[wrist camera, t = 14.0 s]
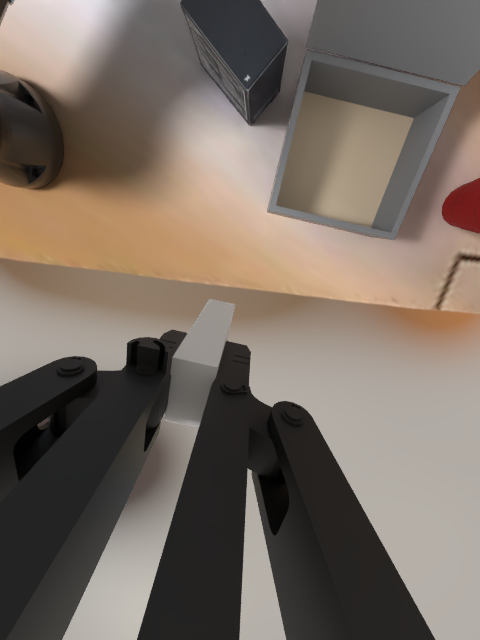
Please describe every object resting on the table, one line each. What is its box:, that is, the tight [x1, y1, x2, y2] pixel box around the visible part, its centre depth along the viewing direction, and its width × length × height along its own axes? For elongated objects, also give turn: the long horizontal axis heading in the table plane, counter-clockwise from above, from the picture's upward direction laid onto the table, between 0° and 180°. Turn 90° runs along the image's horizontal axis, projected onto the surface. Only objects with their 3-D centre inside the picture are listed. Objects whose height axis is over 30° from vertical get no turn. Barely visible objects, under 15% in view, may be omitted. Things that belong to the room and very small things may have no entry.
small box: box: [180, 0, 288, 125], centre depth 31 cm, size 11×6×10 cm, turn 44°
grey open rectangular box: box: [267, 49, 461, 240], centre depth 35 cm, size 18×17×8 cm
